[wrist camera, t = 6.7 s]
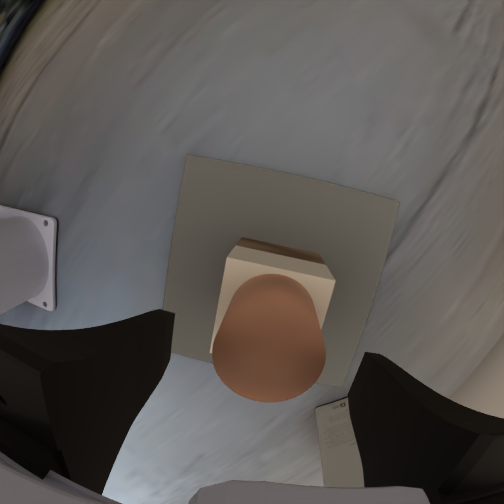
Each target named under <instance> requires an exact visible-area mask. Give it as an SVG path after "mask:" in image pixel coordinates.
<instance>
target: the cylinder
mask: <svg viewBox="0 0 504 504" xmlns="http://www.w3.org/2000/svg"><path fill="white" fill-rule="evenodd" d="M212 359H213V364H214V367H215V370H216V372H217V374H218V376H219V377H220V379H221V380H222V381H223V382H224V384H225V385H226V386H228V387H229V388H230V389H231V390H232V391H234V392H235V393H237V394H239V395H241V396H243V397H245V398H248V399H251V400H254V401H260V402H279V401H284V400H289V399H291V398H294V397H296V396H298V395H300V394H302V393H304V392H305V391H307V390H308V389H309V388H310V387H311V386H312V385H313V384H314V383H315V382H316V381H317V380H318V378H319V377H320V375H321V373H322V371H323V368H324V365H325V361H326V347H325V343H324V339H323V335H322V332H321V328H320V325H319V321H318V318H317V314H316V311H315V307H314V304H313V301H312V298H311V296H310V294H309V293H308V291H307V290H306V289H305V288H304V286H302V285H301V284H300V283H299V282H297V281H296V280H294V279H292V278H290V277H288V276H285V275H280V274H263V275H259V276H256V277H253V278H251V279H249V280H247V281H246V282H244V283H243V284H242V285H241V286H240V287H239V288H238V289H237V290H236V292H235V293H234V295H233V297H232V299H231V301H230V304H229V306H228V308H227V311H226V313H225V315H224V318H223V320H222V323H221V325H220V327H219V330H218V332H217V334H216V337H215V339H214V343H213V348H212Z"/></svg>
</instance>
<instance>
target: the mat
mask: <svg viewBox="0 0 504 504" xmlns="http://www.w3.org/2000/svg"><path fill="white" fill-rule="evenodd" d="M398 207H399V201H395V200H392V199H388V198H385V197H381V196H378V195H374V194H371V193H367V192H363V191H360V190H356V189H352V188H348V187H344V186H340V185H336V184H332V183H328V182H324V181H320V180H316V179H312V178H307V177H303V176H299V175H294V174H290V173H285V172H280V171H276V170H271V169H266V168H261V167H256V166H251V165H246V164H240V163H235V162H229V161H224V160H218V159H212V158H206V157H200V156H193V155H187V157H186V162H185V167H184V172H183V177H182V182H181V188H180V193H179V199H178V205H177V211H176V217H175V223H174V229H173V235H172V242H171V249H170V256H169V263H168V271H167V278H166V286H165V295H164V303H163V310H165V311H169V312H173V313H175V320H174V329H173V338H172V347H171V352H172V353H176V354H179V355H183V356H187V357H190V358H194V359H198V360H202V361H206V362H210V363H213V359H212V353H210V347H211V341H212V336H213V330H214V324H215V319H216V313H217V307H218V302H219V296H220V291H221V286H222V280H223V275H224V270H225V264H226V259H227V256H228V255H229V254H230V252H231V251H232V250H233V248H234V247H235V245H236V244H237V243H238V241H239V240H240V239H241V237H244V238H249V239H253V240H258V241H263V242H267V243H272V244H277V245H281V246H286V247H290V248H295V249H299V250H304V251H309V252H313V253H318V254H320V256H321V258H322V259H323V261H324V262H325V264H326V266H327V267H328V269H329V270H330V272H331V274H332V275H333V277H334V279H335V280H336V281H335V285H334V289H333V292H332V296H331V299H330V302H329V306H328V309H327V313H326V316H325V319H324V323H323V326H322V329H321V332H322V335H323V339H324V343H325V347H326V361H325V365H324V368H323V371H322V373H321V375H320V377H319V378H318V380H317V381H316V382H315V383H316V384H323V385H330V386H337V387H342V385H343V383H344V380H345V378H346V375H347V373H348V370H349V368H350V365H351V363H352V360H353V357H354V355H355V352H356V350H357V347H358V344H359V341H360V339H361V336H362V333H363V330H364V327H365V324H366V322H367V319H368V316H369V313H370V310H371V306H372V303H373V300H374V297H375V294H376V291H377V287H378V284H379V281H380V277H381V274H382V270H383V267H384V263H385V260H386V256H387V252H388V249H389V245H390V241H391V237H392V233H393V229H394V225H395V220H396V216H397V212H398Z"/></svg>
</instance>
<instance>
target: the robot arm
mask: <svg viewBox="0 0 504 504" xmlns="http://www.w3.org/2000/svg"><path fill="white" fill-rule="evenodd" d="M47 221H48V225H47ZM56 232H57V221H56V219H55V218H53V217H49V216H45V215H40V214H36V213H32V212H28V211H24V210H19V209H15V208H11V207H7V206H3V205H0V315H1V314H2V313H4V312H6V311H8V310H10V309H12V308H14V307H16V306H18V305H20V304H22V303H23V302H25V301H27V302H30V303H32V304H34V305H36V306H39V307H41V308H43V309H46V310H48V311H53V310H54V309H55V252H56ZM46 303H47V305H46ZM174 320H175V313H173V312H169V311H165V310H161V309H158V310H154V311H150V312H147V313H144V314H141V315H138V316H135V317H131V318H128V319H125V320H121V321H118V322H114V323H110V324H106V325H102V326H97V327H91V328H84V329H75V330H35V329H25V328H18V327H13V326H7V325H2V324H0V504H122V503H119V502H116V501H114V500H112V499H109V498H107V497H104V496H102V493H103V490H104V487H105V485H106V482H107V480H108V477H109V474H110V472H111V469H112V467H113V464H114V462H115V460H116V458H117V455H118V453H119V451H120V448H121V446H122V444H123V442H124V440H125V438H126V436H127V433H128V431H129V429H130V427H131V425H132V424H133V422H134V420H135V418H136V417H137V415H138V414H139V412H140V411H141V409H142V408H143V406H144V405H145V403H146V402H147V400H148V399H149V397H150V396H151V394H152V393H153V391H154V390H155V388H156V386H157V385H158V383H159V382H160V380H161V379H162V376H163V374H164V372H165V370H166V368H167V366H168V363H169V361H170V357H171V347H172V338H173V329H174ZM348 405H349V414H350V419H351V423H352V427H353V431H354V435H355V438H356V442H357V446H358V450H359V454H360V458H361V463H362V468H363V478H364V487H360V488H347V487H318V486H303V485H292V484H283V483H274V482H267V481H238V480H231V481H227V482H223V483H219V484H215V485H211V486H207V487H203V488H200V489H199V490H198V491H197V493H196V494H195V495H194V496H193V497H192V498H191V499H190V500H189V504H504V419H503V418H498V417H495V416H491V415H487V414H484V413H481V412H477V411H475V410H472V409H470V408H467V407H464V406H462V405H460V404H458V403H456V402H454V401H452V400H450V399H448V398H446V397H444V396H442V395H440V394H439V393H437V392H435V391H434V390H432V389H430V388H429V387H427V386H426V385H424V384H423V383H421V382H420V381H418V380H417V379H415V378H414V377H413V376H411V375H410V374H409V373H407V372H406V371H404V370H403V369H402V368H400V367H399V366H398V365H396V364H395V363H393V362H392V361H391V360H389V359H388V358H386V357H384V356H383V355H381V354H376V353H369V352H365V354H364V356H363V359H362V361H361V364H360V366H359V369H358V371H357V374H356V376H355V379H354V381H353V383H352V386H351V388H350V390H349V393H348Z"/></svg>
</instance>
